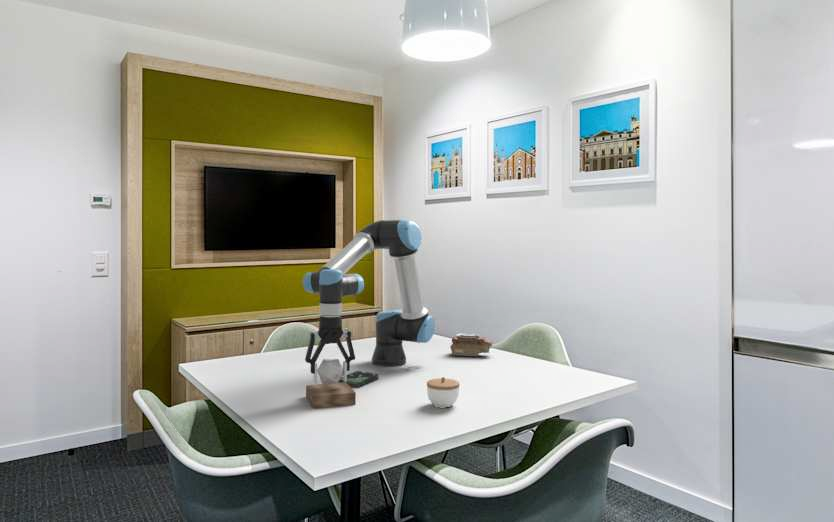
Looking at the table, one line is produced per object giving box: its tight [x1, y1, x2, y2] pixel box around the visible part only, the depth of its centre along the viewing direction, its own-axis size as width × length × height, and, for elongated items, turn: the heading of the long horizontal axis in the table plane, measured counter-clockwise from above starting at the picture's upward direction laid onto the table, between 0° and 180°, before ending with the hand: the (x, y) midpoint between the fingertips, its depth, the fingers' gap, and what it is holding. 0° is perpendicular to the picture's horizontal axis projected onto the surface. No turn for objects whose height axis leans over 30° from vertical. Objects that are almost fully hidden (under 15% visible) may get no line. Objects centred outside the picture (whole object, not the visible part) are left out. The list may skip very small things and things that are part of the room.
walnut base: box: [305, 382, 357, 409], centre depth 189 cm, size 14×14×4 cm
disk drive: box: [338, 370, 380, 389], centre depth 215 cm, size 10×3×15 cm
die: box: [317, 358, 343, 384], centre depth 189 cm, size 8×9×10 cm
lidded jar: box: [426, 376, 460, 408], centre depth 185 cm, size 11×11×9 cm
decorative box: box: [450, 333, 494, 357], centre depth 266 cm, size 13×20×10 cm, turn 71°
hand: (330, 381), depth 189 cm, fingers closed on die, 9 cm apart
